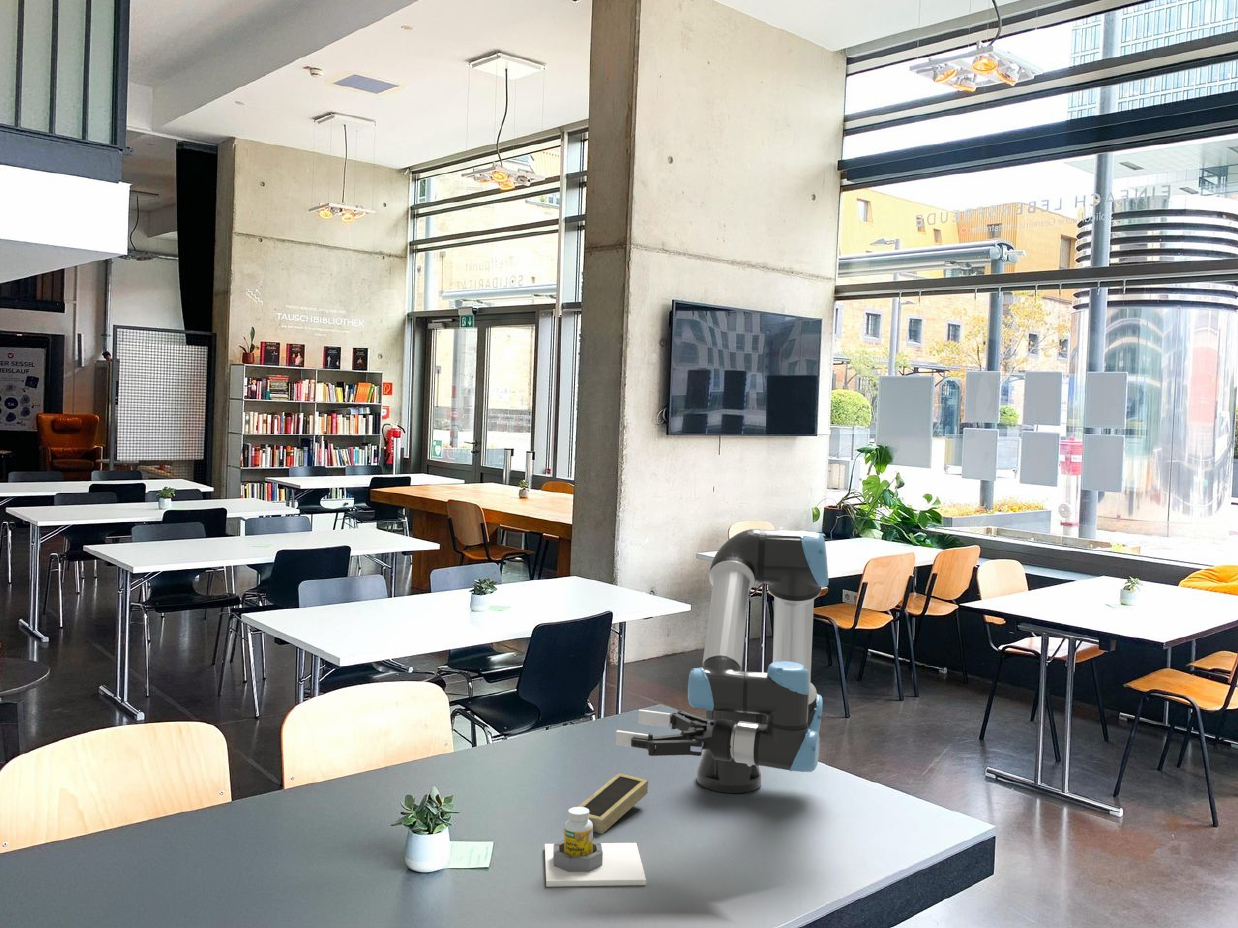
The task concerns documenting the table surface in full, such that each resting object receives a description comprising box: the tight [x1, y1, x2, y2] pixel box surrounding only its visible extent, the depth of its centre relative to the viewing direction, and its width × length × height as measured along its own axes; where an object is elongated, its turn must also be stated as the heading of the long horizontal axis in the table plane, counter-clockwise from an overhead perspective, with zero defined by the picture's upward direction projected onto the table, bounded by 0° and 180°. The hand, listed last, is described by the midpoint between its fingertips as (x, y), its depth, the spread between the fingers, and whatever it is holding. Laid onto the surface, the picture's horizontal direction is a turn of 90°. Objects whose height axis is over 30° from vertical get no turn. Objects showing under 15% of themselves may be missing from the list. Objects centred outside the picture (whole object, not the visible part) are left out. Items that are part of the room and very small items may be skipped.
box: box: [577, 772, 649, 835], centre depth 208 cm, size 8×22×5 cm, turn 149°
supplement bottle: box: [563, 806, 594, 856], centre depth 185 cm, size 5×5×10 cm
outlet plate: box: [544, 839, 647, 888], centre depth 185 cm, size 18×16×4 cm
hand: (627, 726), depth 192 cm, fingers open, 13 cm apart
